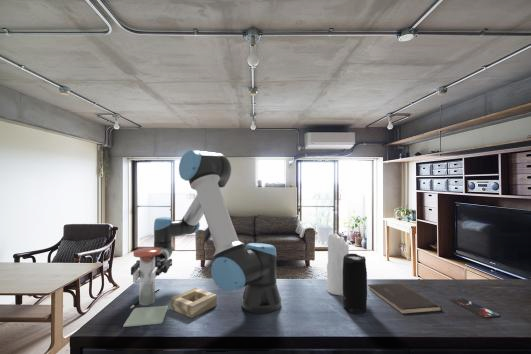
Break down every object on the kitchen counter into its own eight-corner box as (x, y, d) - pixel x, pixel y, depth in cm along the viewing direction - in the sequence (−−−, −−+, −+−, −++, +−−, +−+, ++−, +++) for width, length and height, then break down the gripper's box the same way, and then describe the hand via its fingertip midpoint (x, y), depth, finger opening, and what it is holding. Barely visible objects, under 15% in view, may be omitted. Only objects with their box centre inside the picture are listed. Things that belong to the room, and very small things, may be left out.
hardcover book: (401, 315, 95) (401, 308, 95) (367, 289, 118) (367, 284, 118) (441, 312, 97) (441, 305, 98) (401, 287, 120) (401, 282, 120)
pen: (161, 289, 119) (161, 287, 119) (131, 309, 100) (131, 306, 100) (159, 289, 119) (159, 286, 119) (129, 309, 100) (129, 306, 100)
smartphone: (462, 297, 108) (501, 315, 93) (462, 299, 108) (501, 317, 93) (447, 299, 106) (484, 317, 92) (447, 301, 106) (484, 319, 92)
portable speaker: (345, 315, 94) (344, 259, 95) (340, 303, 104) (340, 252, 104) (370, 316, 94) (369, 259, 94) (363, 304, 103) (362, 252, 103)
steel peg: (165, 300, 96) (166, 249, 96) (141, 310, 88) (142, 255, 89) (151, 294, 101) (152, 246, 101) (127, 303, 94) (128, 251, 94)
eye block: (216, 304, 103) (216, 294, 103) (192, 318, 93) (192, 306, 93) (195, 297, 110) (195, 287, 110) (170, 308, 100) (170, 298, 100)
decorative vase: (348, 285, 121) (348, 230, 122) (354, 295, 111) (353, 235, 111) (324, 285, 122) (323, 230, 123) (327, 294, 112) (327, 234, 112)
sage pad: (168, 307, 101) (168, 305, 101) (162, 323, 89) (162, 321, 89) (134, 309, 99) (134, 308, 99) (123, 327, 87) (123, 325, 87)
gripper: (180, 266, 114) (171, 287, 91) (135, 268, 111) (114, 290, 88) (180, 248, 114) (171, 264, 91) (135, 250, 111) (114, 267, 88)
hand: (143, 277), depth 90 cm, fingers closed on steel peg, 5 cm apart
